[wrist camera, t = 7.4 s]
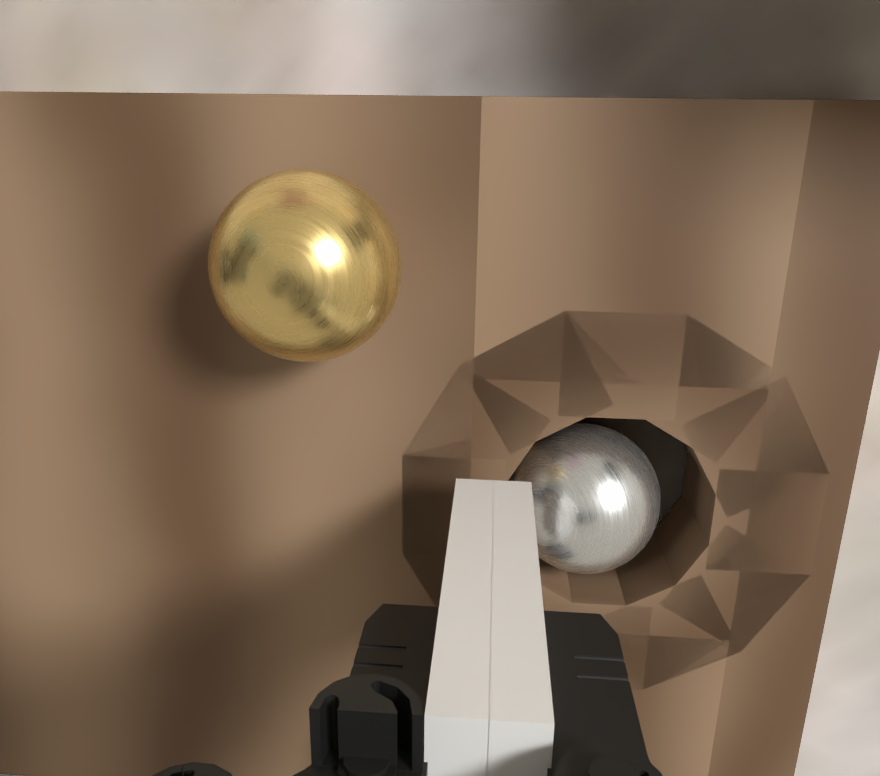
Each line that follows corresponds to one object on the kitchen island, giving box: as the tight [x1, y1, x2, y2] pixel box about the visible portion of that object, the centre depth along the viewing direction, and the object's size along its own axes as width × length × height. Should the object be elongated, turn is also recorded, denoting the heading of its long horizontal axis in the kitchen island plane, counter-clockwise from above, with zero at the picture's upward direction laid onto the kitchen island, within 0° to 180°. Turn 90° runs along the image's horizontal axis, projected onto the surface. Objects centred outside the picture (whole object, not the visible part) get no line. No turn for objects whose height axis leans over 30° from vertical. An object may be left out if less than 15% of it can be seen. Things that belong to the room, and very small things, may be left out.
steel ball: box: [511, 423, 661, 574], centre depth 17 cm, size 3×3×3 cm
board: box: [0, 92, 880, 776], centre depth 18 cm, size 22×17×2 cm
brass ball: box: [208, 169, 402, 362], centre depth 13 cm, size 3×3×3 cm
